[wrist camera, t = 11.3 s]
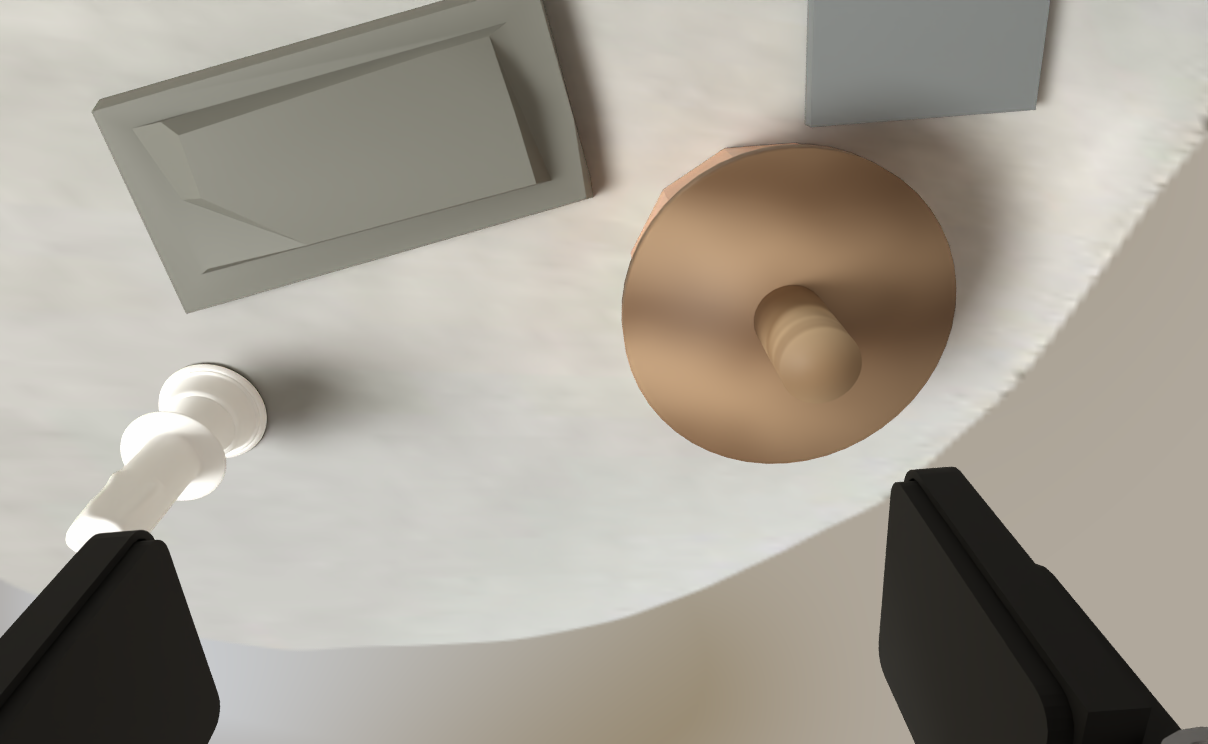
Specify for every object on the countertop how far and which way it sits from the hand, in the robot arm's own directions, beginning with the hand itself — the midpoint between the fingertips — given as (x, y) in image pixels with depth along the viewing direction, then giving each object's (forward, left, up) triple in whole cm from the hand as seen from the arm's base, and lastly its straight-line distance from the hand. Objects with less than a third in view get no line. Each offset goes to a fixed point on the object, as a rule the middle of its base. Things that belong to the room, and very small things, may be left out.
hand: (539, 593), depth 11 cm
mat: (-7, +16, -30) cm, 35 cm away
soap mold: (-1, -9, -31) cm, 33 cm away
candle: (+11, -19, -31) cm, 38 cm away
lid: (+6, +9, -25) cm, 28 cm away
